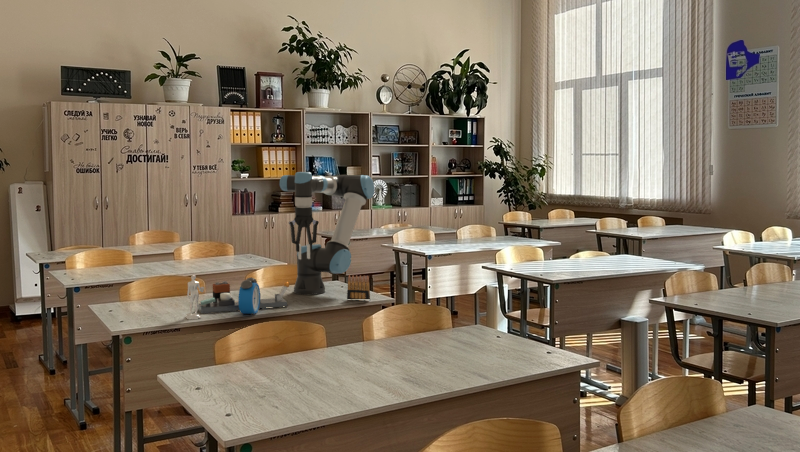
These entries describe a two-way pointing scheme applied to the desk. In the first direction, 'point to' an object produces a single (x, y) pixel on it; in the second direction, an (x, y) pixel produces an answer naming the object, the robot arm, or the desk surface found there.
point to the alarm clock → (249, 296)
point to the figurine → (194, 293)
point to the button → (225, 296)
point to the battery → (220, 289)
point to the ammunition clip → (358, 288)
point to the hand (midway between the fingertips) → (304, 258)
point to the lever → (284, 288)
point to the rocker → (207, 301)
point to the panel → (234, 305)
